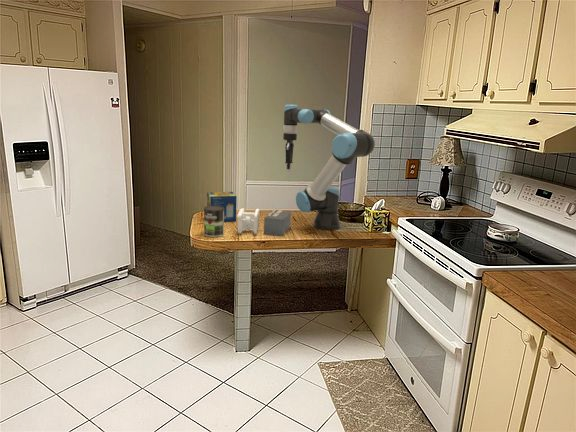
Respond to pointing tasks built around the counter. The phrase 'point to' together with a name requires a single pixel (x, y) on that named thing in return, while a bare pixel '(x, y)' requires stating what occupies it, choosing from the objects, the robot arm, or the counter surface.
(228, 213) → the protein box
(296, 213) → the counter surface
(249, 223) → the cable organizer
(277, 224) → the grey box
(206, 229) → the coffee can
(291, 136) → the robot arm
